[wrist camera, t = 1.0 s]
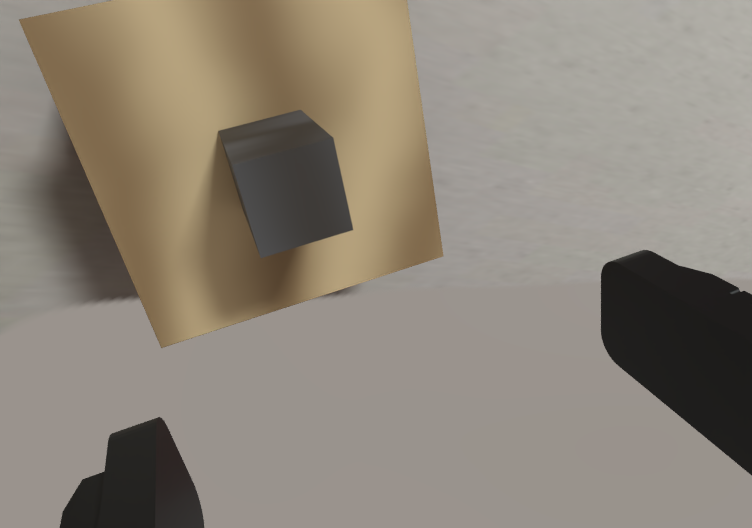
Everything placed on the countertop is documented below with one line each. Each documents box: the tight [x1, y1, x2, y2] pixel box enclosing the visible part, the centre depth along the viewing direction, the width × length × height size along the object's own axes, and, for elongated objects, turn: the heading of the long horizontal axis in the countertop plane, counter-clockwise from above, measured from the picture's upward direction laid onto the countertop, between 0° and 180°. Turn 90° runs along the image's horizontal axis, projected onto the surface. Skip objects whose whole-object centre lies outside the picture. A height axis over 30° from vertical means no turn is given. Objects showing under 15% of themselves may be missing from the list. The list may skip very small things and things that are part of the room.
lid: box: [19, 0, 443, 348], centre depth 22 cm, size 13×13×7 cm
